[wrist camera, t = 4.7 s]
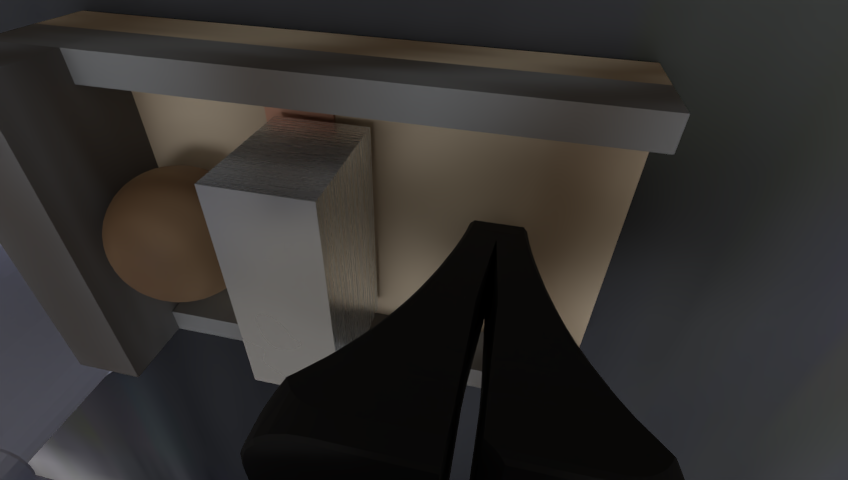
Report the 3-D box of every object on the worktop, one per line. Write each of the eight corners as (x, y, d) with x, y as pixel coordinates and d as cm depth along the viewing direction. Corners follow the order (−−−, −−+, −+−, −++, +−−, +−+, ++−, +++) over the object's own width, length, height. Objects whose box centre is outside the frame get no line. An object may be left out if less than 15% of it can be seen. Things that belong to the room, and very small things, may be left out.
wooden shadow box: (659, 62, 11) (724, 170, 7) (571, 330, 16) (578, 477, 12) (82, 10, 13) (-127, 67, 9) (177, 261, 18) (75, 366, 14)
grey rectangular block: (370, 127, 11) (315, 202, 8) (377, 307, 15) (341, 397, 12) (274, 115, 11) (194, 183, 9) (305, 294, 15) (255, 379, 12)
